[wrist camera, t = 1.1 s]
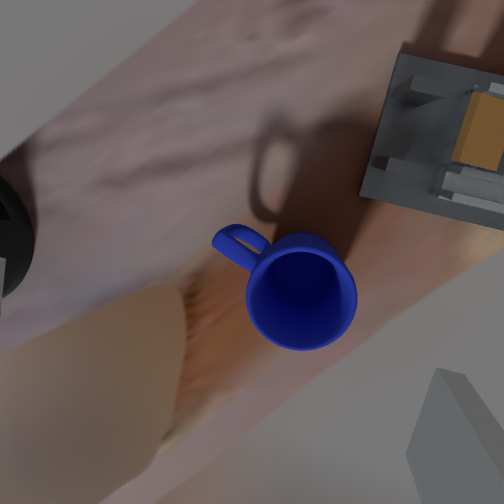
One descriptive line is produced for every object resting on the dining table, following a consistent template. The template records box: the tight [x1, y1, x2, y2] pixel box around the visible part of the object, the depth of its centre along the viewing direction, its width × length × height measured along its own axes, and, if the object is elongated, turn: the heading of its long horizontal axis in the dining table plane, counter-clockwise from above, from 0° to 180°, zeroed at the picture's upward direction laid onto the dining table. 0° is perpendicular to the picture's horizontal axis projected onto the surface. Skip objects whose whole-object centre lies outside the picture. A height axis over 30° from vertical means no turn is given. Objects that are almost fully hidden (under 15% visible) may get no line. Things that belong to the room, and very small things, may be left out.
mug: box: [212, 224, 357, 351], centre depth 39 cm, size 8×12×10 cm
